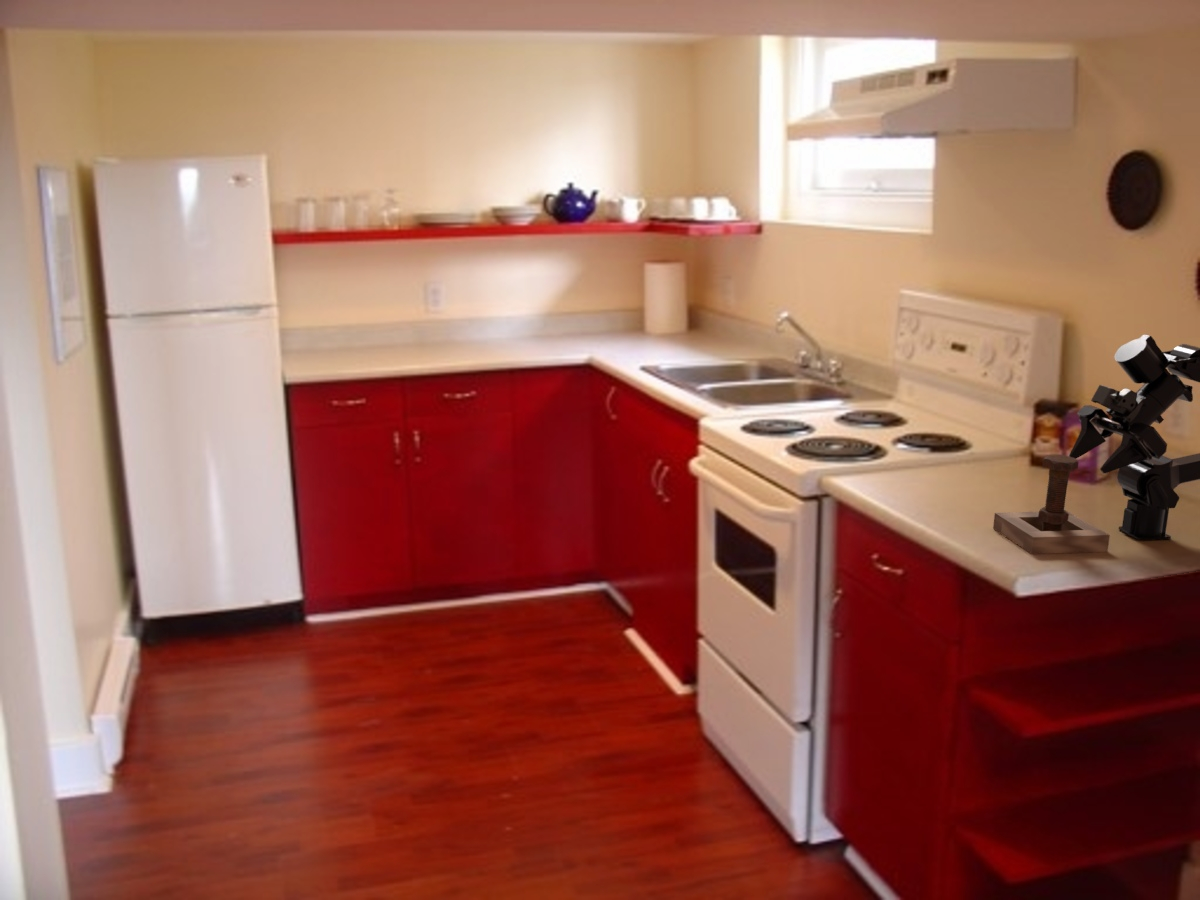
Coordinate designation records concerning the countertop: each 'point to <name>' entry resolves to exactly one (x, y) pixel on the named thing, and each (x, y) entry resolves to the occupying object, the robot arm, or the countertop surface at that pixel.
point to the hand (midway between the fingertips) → (1086, 464)
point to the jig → (1050, 534)
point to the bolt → (1056, 491)
